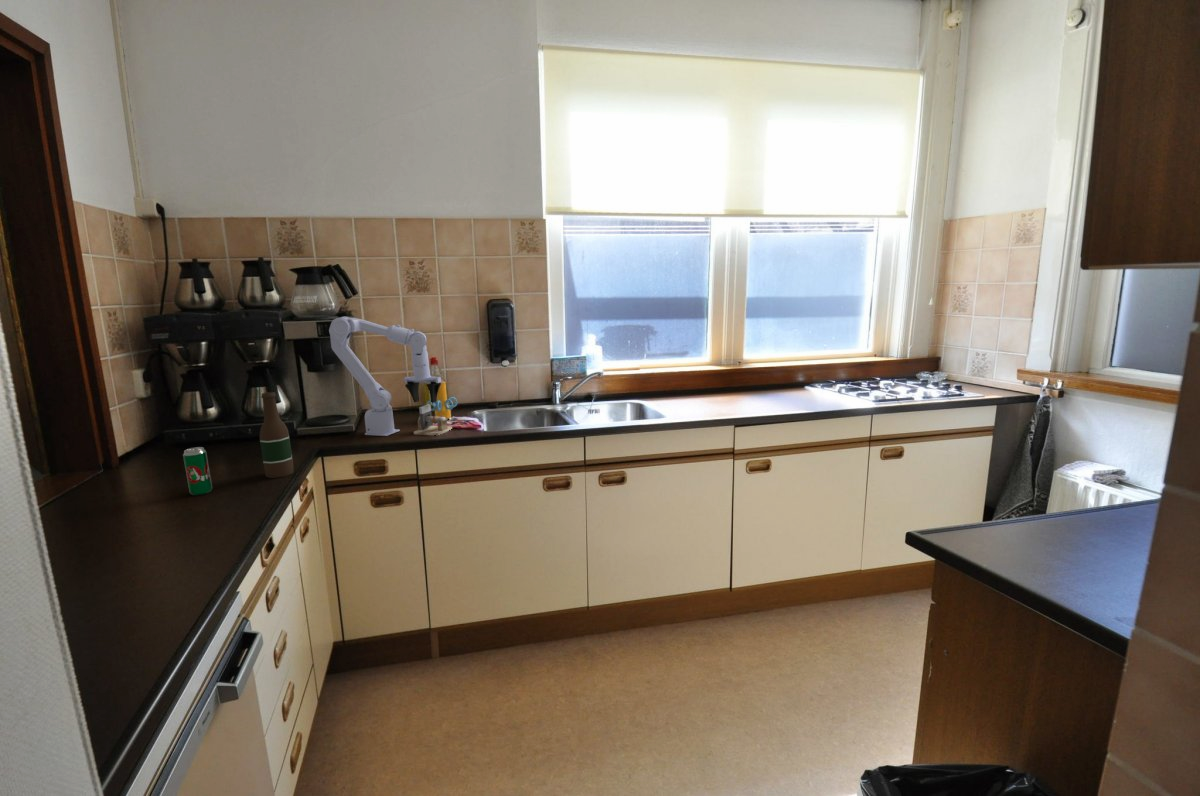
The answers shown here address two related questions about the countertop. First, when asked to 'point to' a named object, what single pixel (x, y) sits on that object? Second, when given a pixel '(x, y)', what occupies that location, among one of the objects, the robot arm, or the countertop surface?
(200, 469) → the soda can
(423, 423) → the grey bent plate
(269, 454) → the beer bottle
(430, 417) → the pipe rig
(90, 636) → the countertop surface
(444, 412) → the yellow blue ringed piece
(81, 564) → the countertop surface
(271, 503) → the countertop surface
